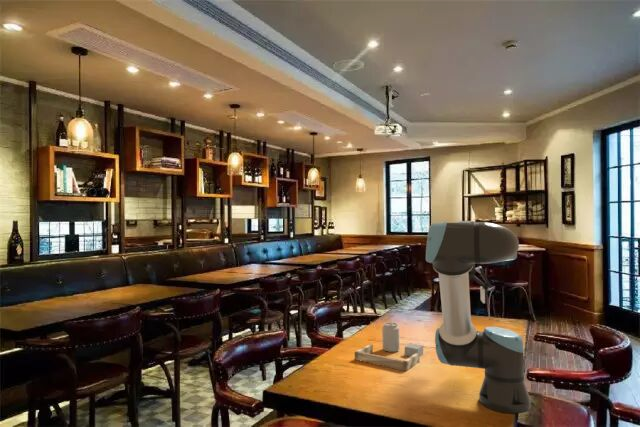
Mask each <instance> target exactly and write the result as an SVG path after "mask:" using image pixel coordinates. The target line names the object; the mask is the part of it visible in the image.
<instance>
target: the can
mask: <svg viewBox="0 0 640 427" xmlns="http://www.w3.org/2000/svg"><path fill="white" fill-rule="evenodd" d="M381 331H382V349H383V351H385V352H386V351H388V353H396V352H398V351H399V350H400V327H399V326H398V323H397V322H385V323H383V326H382V330H381Z"/></svg>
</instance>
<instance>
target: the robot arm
mask: <svg viewBox="0 0 640 427" xmlns="http://www.w3.org/2000/svg"><path fill="white" fill-rule="evenodd" d="M519 246H520V242H519V239H518V237H517V235H516V234H515V232H514V231H512V230H510V229H509V228H507V227H505V226H502V225H500V224H497V223H492V222H486V221H485V222H484V221H479V222H477V221H474V222H470V221H467V220H461V221H457V222H447V221H444V222H434V223H432V224H431V225H430V226H429V227H428V232H427V239H426V247H425V261H426V262H427V263H429V264H432V268H433V270H434V271H435V272H436V273H438V281H439V282H438V283H439V292H440V301H441V302H440V303H441V314H442V315H441V316H442V323H441V324H440V326H439V327H438V328H437V329H436V330H435V333H434V345H435V352H436V356H437V359H438V361H439V362H440V363H441V364H444V365H449V366H451V367H453V366H457V367H465V368H473V369H474V368H475V369H481V370H484V378H483V381H482V383H481V387H480V389H479V393H478V394H479V398H478V399H479V400H478V401H479V402H480V404H482V405H483V406H484V407H486V408H487V409H490V410H493V411H496V412H499V413H506V414H523V413H526V412H529V411H530V410H531V408H532V407H531V406H532V405H531V403H532V402H531V398H530V395H529V392H528V388H527V386H526V383H525V366H524V365H525V363H524V362H525V361H524V358H525V357H524V353H525V348H524V339H523V337H522V336H521V335H520V334H519V333H517V332H516V331H513V330H511V329H508V328H503V327H498V326H485V327H484V329H483V331H479V330H477V328H476V326H475V325H474V324H473V323H472V317H471V316H472V315H471V314H472V313H471V299H470V298H471V296H470V281H471V279H472V280H474V281H475V282H476V283H477V284H479V285H480V286H479V289H480V291H479V293H480V301H481V302H482V304H486V296H487V295H488V290H489V288H491V287H492V286H493V285H492V283H491V282H490V280H489V278H488V277H487V276H486V273H484V268H483V267H482V266H481V265H484V264H487V265H488V264H496V263H500V262H506V261H509V260H511V261H512V260H516V259H517V258H518V250H519ZM477 264H479V265H478V266H477V267H476V265H477ZM476 272H477V273H478V274H480V276H481V278H482V279H483V281H484V282H483V281H482V280H481V279H479V278H478V277H477V276H476V275H475V274H476Z"/></svg>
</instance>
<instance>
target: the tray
mask: <svg viewBox="0 0 640 427" xmlns="http://www.w3.org/2000/svg"><path fill="white" fill-rule="evenodd" d="M373 347H374V345H373V344H367V345H366V346H364V347H361V348H360V349H358V350H355V351H354V360H355V359H356V360H361V361H365V362H364V363H366V362H369V363H368V364H370V363H374V364H373V365H375V364H378V365H377V366H379V365H382V366H381V367H384V366H386V367H385V368H389V367H390V368H389V369H393V368H394V370H398V371H403V372H408V371H409V370H410V369H412V368H413V367H414V366H416V365H417V364H419V363H420V357H419V354H418V353H415V354H414V355H412V356H411V357H410V356H408V357H407V358H405V360H403V359H398V358H394V357H387V356H383V355H380V354H379V355H377V354H374V353H372V352H374V350H373ZM370 353H372V354H370ZM356 360H355V361H356ZM361 361H360V362H361Z"/></svg>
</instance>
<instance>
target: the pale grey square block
mask: <svg viewBox="0 0 640 427" xmlns="http://www.w3.org/2000/svg"><path fill="white" fill-rule="evenodd" d="M415 353H418V354H419V358H420V357H421V356H423V355H424V345H421V344H416V343H409V344H407V345H405V346H404V356H405V357H411V356H412V355H414V354H415Z"/></svg>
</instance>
